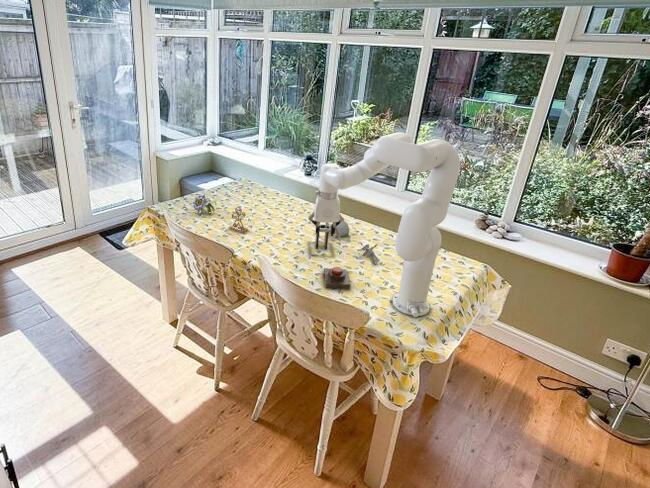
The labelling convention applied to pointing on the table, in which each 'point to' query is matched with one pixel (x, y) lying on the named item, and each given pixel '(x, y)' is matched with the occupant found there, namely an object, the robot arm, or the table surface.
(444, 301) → the table surface
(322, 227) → the lever
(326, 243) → the black rod frame
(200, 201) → the passion flower
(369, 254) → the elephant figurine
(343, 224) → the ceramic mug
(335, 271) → the button
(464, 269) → the table surface
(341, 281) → the button block
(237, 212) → the brown openwork figurine
